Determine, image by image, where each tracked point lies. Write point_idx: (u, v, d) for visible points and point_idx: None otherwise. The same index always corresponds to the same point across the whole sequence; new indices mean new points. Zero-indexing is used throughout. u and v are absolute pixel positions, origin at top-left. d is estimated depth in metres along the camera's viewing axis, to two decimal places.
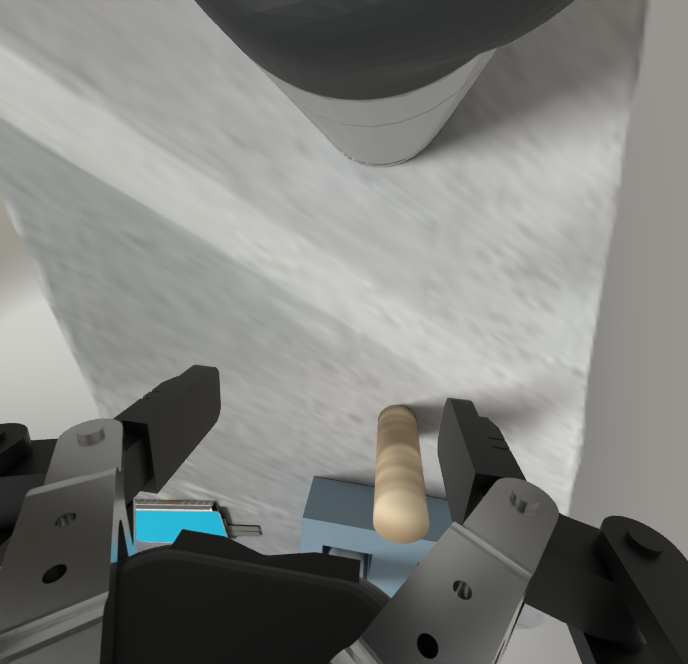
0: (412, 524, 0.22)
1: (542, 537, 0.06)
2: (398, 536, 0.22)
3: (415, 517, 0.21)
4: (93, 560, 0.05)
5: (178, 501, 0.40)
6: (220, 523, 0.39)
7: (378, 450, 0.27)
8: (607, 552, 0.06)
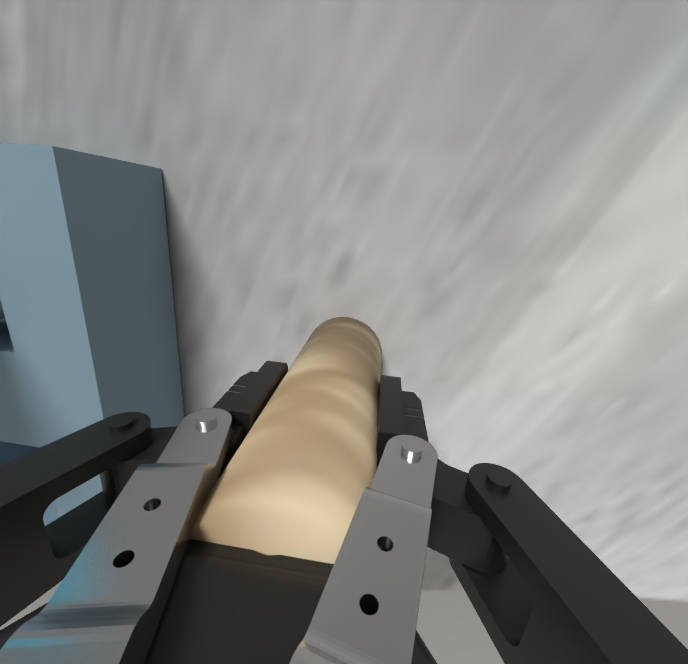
0: None
1: (414, 476, 0.07)
2: None
3: None
4: (155, 558, 0.05)
5: None
6: None
7: (345, 366, 0.11)
8: (476, 499, 0.07)
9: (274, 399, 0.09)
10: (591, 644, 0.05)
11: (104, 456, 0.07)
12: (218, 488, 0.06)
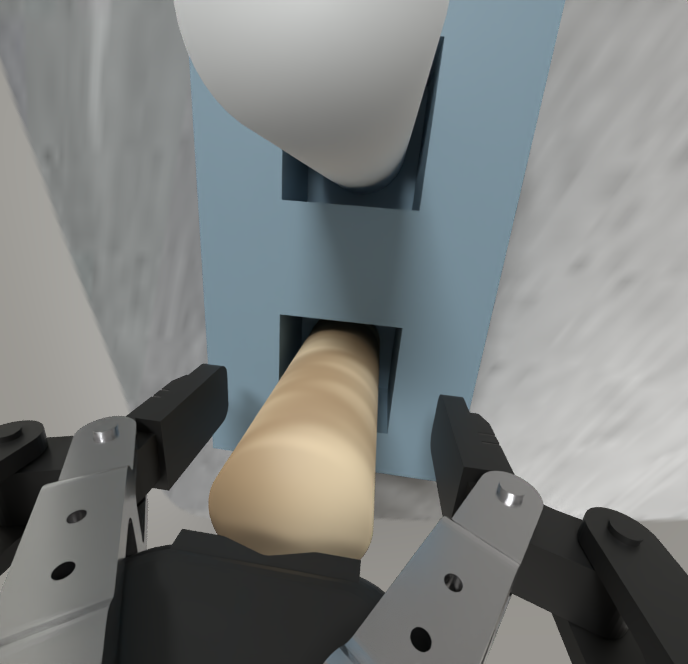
0: (293, 545, 0.07)
1: (526, 527, 0.06)
2: (236, 512, 0.07)
3: None
4: (101, 559, 0.05)
5: None
6: None
7: (348, 348, 0.12)
8: (590, 543, 0.06)
9: (287, 374, 0.11)
10: None
11: None
12: (246, 437, 0.08)
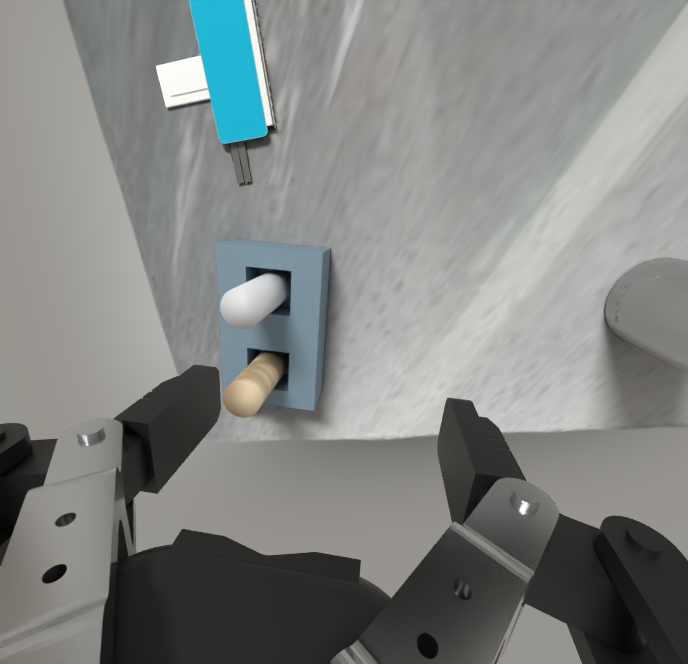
0: (242, 407, 0.32)
1: (542, 537, 0.06)
2: (229, 399, 0.31)
3: (249, 409, 0.32)
4: (93, 560, 0.05)
5: (267, 75, 0.33)
6: (250, 135, 0.34)
7: (268, 359, 0.36)
8: (607, 552, 0.06)
9: (245, 368, 0.35)
10: None
11: None
12: None
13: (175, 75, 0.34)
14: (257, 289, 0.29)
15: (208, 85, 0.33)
